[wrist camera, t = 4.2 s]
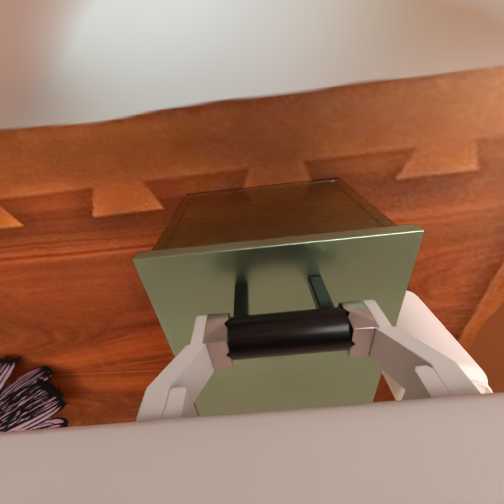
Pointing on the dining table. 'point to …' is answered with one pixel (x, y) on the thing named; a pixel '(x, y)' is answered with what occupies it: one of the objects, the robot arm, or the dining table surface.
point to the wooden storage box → (269, 214)
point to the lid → (283, 312)
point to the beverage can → (434, 342)
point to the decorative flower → (29, 399)
